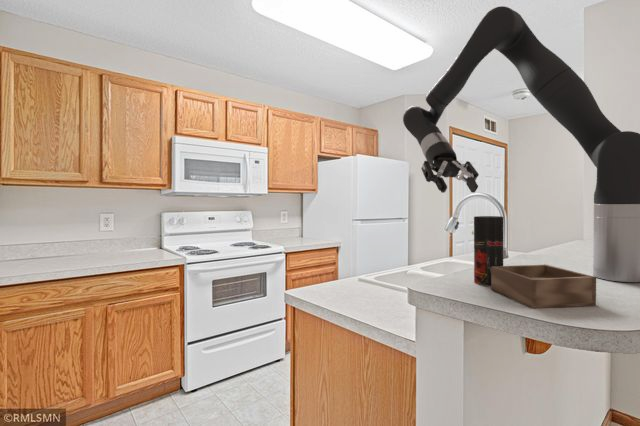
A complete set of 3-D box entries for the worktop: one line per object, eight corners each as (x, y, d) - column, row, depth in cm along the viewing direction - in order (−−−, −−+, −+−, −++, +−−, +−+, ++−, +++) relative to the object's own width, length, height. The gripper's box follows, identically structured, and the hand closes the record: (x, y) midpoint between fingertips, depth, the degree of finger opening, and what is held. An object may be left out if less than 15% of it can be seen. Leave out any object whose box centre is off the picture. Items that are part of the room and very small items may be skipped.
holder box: (545, 287, 72) (545, 264, 72) (595, 305, 60) (596, 277, 60) (491, 290, 71) (491, 266, 71) (531, 308, 59) (532, 280, 59)
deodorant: (508, 286, 75) (508, 217, 74) (481, 286, 75) (480, 217, 74) (495, 279, 80) (495, 215, 80) (469, 280, 81) (469, 216, 80)
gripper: (418, 140, 95) (440, 179, 84) (465, 141, 98) (491, 179, 87) (410, 161, 101) (429, 200, 90) (454, 161, 103) (478, 200, 92)
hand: (460, 190), depth 88 cm, fingers open, 8 cm apart
